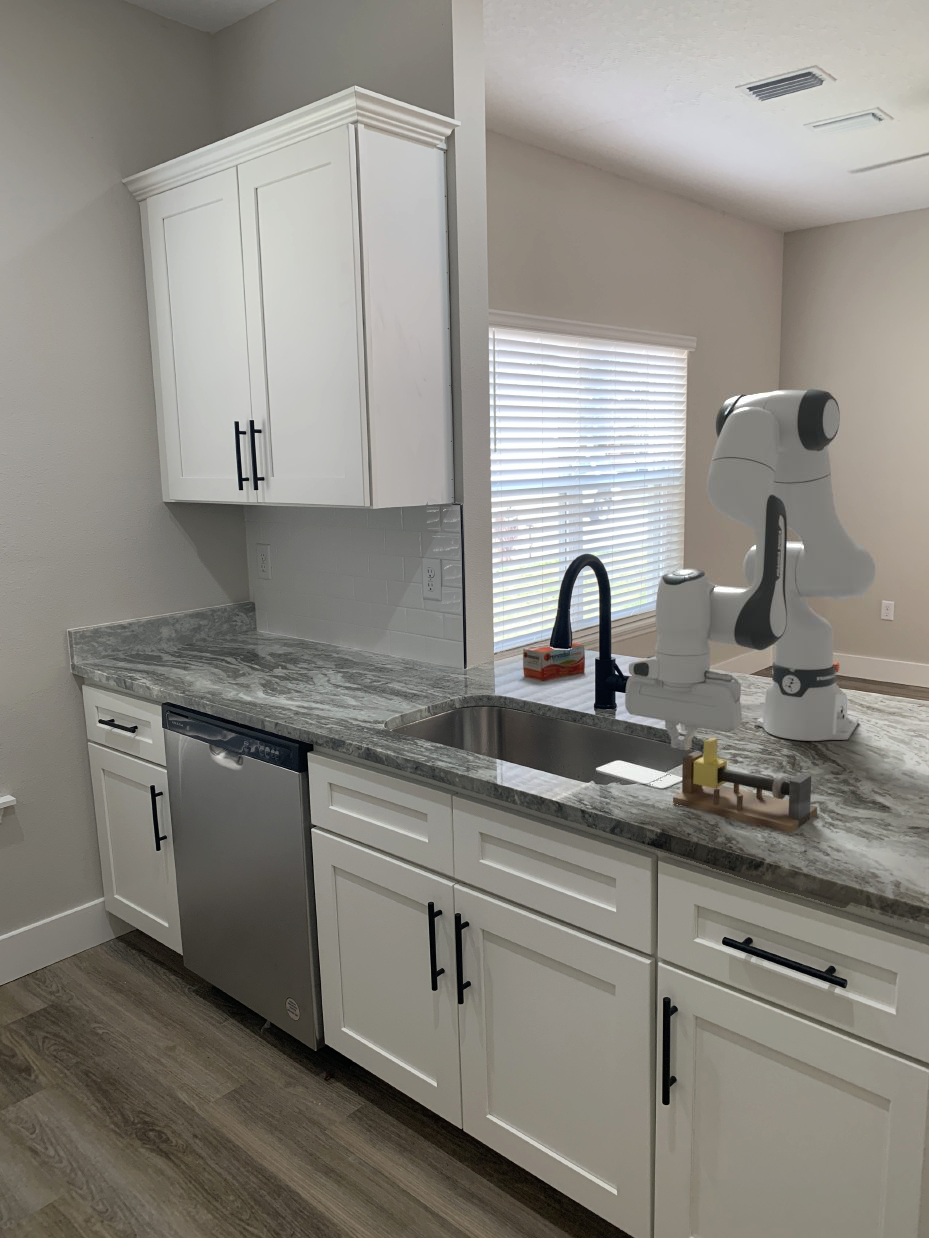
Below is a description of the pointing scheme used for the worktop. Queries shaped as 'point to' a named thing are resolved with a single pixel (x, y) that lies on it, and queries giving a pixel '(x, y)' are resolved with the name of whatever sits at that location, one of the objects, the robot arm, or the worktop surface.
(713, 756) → the sleeve
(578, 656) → the medicine box
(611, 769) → the smartphone
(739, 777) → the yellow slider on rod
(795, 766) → the worktop surface
